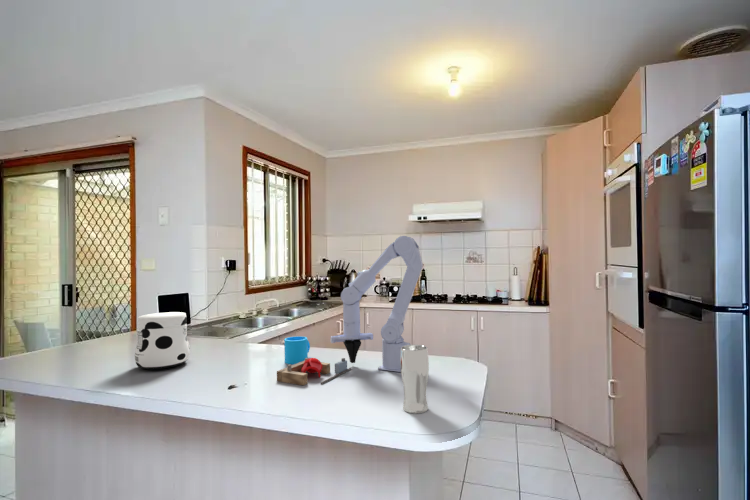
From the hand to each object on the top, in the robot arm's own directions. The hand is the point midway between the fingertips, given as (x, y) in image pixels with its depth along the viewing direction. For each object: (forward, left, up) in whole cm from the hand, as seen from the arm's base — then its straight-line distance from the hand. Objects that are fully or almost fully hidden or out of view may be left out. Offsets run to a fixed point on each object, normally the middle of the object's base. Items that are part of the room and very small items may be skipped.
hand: (352, 362), depth 138 cm
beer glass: (-34, +26, -2) cm, 43 cm away
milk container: (+62, +26, -2) cm, 68 cm away
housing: (+6, +13, -1) cm, 15 cm away
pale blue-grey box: (0, +7, -1) cm, 7 cm away
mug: (+22, 0, -2) cm, 22 cm away
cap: (+6, +15, -2) cm, 16 cm away
